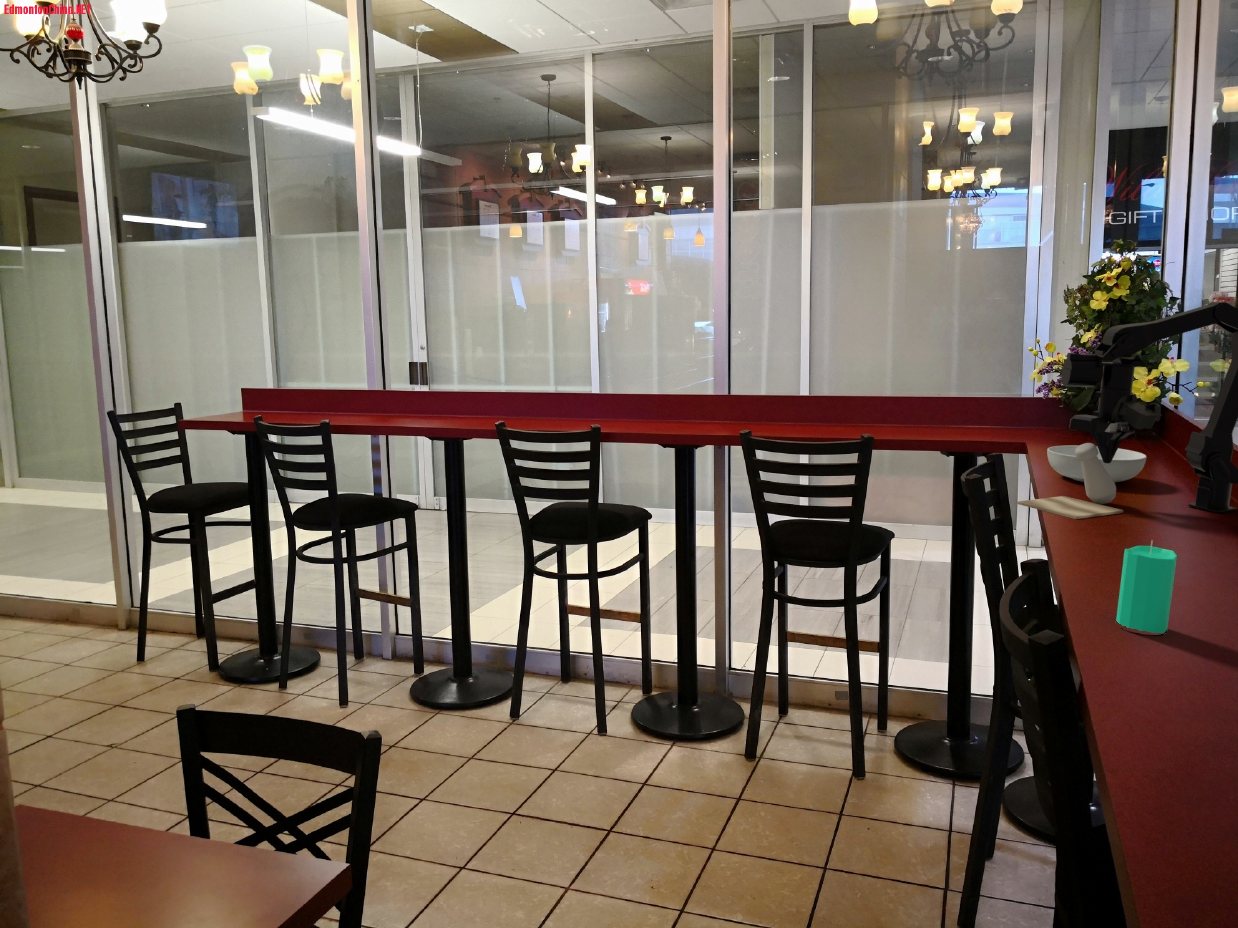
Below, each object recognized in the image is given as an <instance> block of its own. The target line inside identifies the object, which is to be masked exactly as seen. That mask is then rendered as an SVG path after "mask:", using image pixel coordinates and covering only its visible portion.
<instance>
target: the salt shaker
mask: <svg viewBox="0 0 1238 928" xmlns="http://www.w3.org/2000/svg"><path fill="white" fill-rule="evenodd" d="M1077 446H1078V447H1077V448H1076V450H1075V456H1076V458H1077V459H1078V460H1080V461H1081V465H1082V471H1083V477H1084V482H1083V483H1084V487H1085V494H1086V496H1087V498H1089V500H1091V501H1092V503H1095V504H1099V505H1105V504H1108V503H1111V502H1112V501H1114V499H1115V498H1116V494H1117V486H1116V482H1114V481H1113V480H1112V479H1111V477H1110V476H1109V474H1108V473H1107V471H1106V470H1105V468H1104V467H1103V465H1102V464H1101V462H1100V461H1099V459H1098V457H1097V455H1098V449H1097V447H1096V446H1097V444H1095V443H1092V442H1085V443H1082V444H1080V445H1077Z"/></svg>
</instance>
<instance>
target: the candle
mask: <svg viewBox="0 0 1238 928" xmlns="http://www.w3.org/2000/svg"><path fill="white" fill-rule="evenodd" d="M1153 543H1154V542H1153V539H1151V542H1150V545H1136V546H1133V547H1130V548H1125V549H1124V553H1123V559H1122V560H1123V561H1122V570H1121V579H1120V586H1119V594H1118V595H1119V596H1118V603H1117V609H1116V610H1117V611H1116V619H1115V620H1116V621H1117V622H1118V623H1119V624H1121V625H1122V626H1126V627H1127V628H1131V629H1137V630H1139V631H1147V632H1151V633H1164V632H1165V631H1166V630H1167V631H1168V627H1169V619H1170V610H1171V603H1172V597H1173V589H1174V581H1175V574H1176V573H1175V572H1176V565H1177V558H1178V555H1177V554H1176V553H1175V551H1174V550H1170V549H1166V548H1161V547H1157V546H1153ZM1116 621H1115V622H1116Z"/></svg>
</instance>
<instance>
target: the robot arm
mask: <svg viewBox="0 0 1238 928" xmlns="http://www.w3.org/2000/svg"><path fill="white" fill-rule="evenodd" d="M1213 325H1217V326H1218V327H1220V328H1221V329H1223V330H1224V331H1226V332H1227V333H1229V334H1232V337H1231V343H1230V350H1231V361H1230V364H1229V367H1228V369H1227V372H1226V374H1225V377H1224V380H1223V381H1222V385H1221V387H1220V390H1219V393H1218V395H1217V398H1216V401H1215V403H1214V406H1213V408H1212V411H1211V414H1210V416H1209V418H1208V421H1207V424H1206V426H1205V427H1204V428H1203V429H1202V430H1201V431H1200V432H1196V431H1192V432H1191V433H1190V435H1189V436H1190V438H1189V441H1188V444H1187V446H1186V447H1185V448H1184V450H1185V451H1186V460H1187V462H1188V463H1189V465H1190V466H1191V467H1192V470H1193V473H1194V475H1196V476H1199V478H1198V481H1197V487H1196V496H1195V502H1191V503H1188V504H1187V507H1191V508H1196V509H1199V510H1204V511H1209V512H1214V513H1217V514H1218V513H1225V512H1232V511H1237V507H1235V506H1230V501H1231V496H1232V495H1231V494H1232V490H1233V489H1232V488H1233V485H1234V484H1236V485H1238V468H1237V466H1236V465H1235V464H1233V462H1232V458H1233V454H1234V453H1233V452H1234V440H1233V439H1234V437H1233V433H1234V429H1235V427H1236V424H1237V421H1238V308H1237V307H1235V306H1233V305H1231V304H1230V303H1229V302H1224V301H1211V302H1209V303H1207V304H1205V305H1203V306H1199V307H1196V308H1193V309H1189V310H1186V311H1183V312H1178V313H1175V314H1173V315H1169V316H1166V317H1162V318H1159V319H1155V320H1152V321H1147V322H1138V323H1127V324H1120V325H1114V326H1112V327H1109V328H1107V330H1106V331H1105V333H1104V334H1103V337H1102V341H1101V342H1100V343H1099V344H1098V345H1097V346H1096V347H1095V348H1094V349H1093V350H1092V352H1090V354H1084V353H1083V354H1081V353H1075V352H1068V353H1067V356H1066V358H1065V361H1064V363H1063V365H1062V367H1061V371H1060V377H1061V378H1060V379H1061V384H1062V385H1063V386H1064V387H1080V388H1081V387H1082V388H1083V387H1084V388H1095V386H1097V384H1100V390H1099V391H1095V393H1094V397H1096V398H1098V406H1097V407H1098V408H1097V411H1095V410H1094V411H1093V412H1092V415H1090V414H1075V415H1073V416H1072V417H1070V419H1069V429H1071V430H1077V431H1084V432H1087V433H1088V432H1090V433H1091V434H1090V435H1091V436H1092V438H1093V439H1094V442H1095V445H1096V446H1097V447H1098V449H1099V452H1100V455H1101V457H1102V460H1103V462H1104V463H1107V464H1108V463H1111V461H1112V459H1113V457H1114V455H1115V453H1116V451H1117V449H1119V447H1120V446H1121V444H1122V442H1123V441H1124V439H1125V438H1127V437H1128V436H1130V435H1132V434H1134V433H1135V430H1130V429H1129V428H1130V426H1131V427H1133V428H1135V429H1137V430H1143V429H1144V430H1147V429H1149V430H1150V429H1153V428H1154V424H1155V422H1159V421H1161V414H1162V410H1161V409H1162V406H1161V405H1159V404H1158V403H1155V402H1154V403H1153V402H1151V403H1148V404H1147V405H1145V404H1141V403H1138V396H1137V394H1135V393H1132V392H1133V384H1134V377H1135V369H1136V368H1146V367H1147V363H1146V362H1145V361H1144V360H1143V359H1142V358H1141V357H1140V354H1137V353H1138V352H1141V351H1143V350H1145V349H1147V348H1148V347H1151V346H1152V345H1153V344H1155V343H1156V342H1157V343H1158V342H1160V341H1161V340H1164V339H1167V338H1171V337H1175V336H1178V335H1182V334H1185V333H1188V332H1191V331H1195V330H1198V329H1202V328H1206V327H1208V326H1213ZM1122 356H1125V357H1122ZM1126 356H1130V357H1126Z"/></svg>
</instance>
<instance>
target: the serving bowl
mask: <svg viewBox="0 0 1238 928" xmlns="http://www.w3.org/2000/svg"><path fill="white" fill-rule="evenodd" d="M1078 446H1079V445H1055V446H1050V447H1048V448H1047V449H1046V450H1047V451H1046V452H1047V455H1046V456H1047V460H1048V463H1049V465H1050V466H1051V468H1052V469H1053V471H1055V472H1057V473H1058V474H1060V475H1061V476H1064V477H1066V478H1069V479H1072V480H1074V481H1077V482H1080V483H1084V477H1083V471H1082V465H1081V461H1080V460H1078V459H1077V458H1076V456H1075V450H1076V448H1077V447H1078ZM1096 447H1097V445H1096ZM1097 449H1098V447H1097ZM1097 457H1098V459H1099V461H1100V462H1101V464H1102V465H1103V467H1104V468H1105V470H1106V471H1107V473H1108V474H1109V476H1110V477H1111V479H1112V480H1113V481H1114V483H1118V482H1119V483H1120V482H1124V481H1127V480H1130V479H1133V478H1134V477H1136V476H1137V475H1138V474H1140V473H1141V471H1142V470H1143V468H1144V467H1145V464H1146V461H1147V455H1146V454H1144V453H1142V452H1139V451H1134V450H1130V449H1124V448H1118V449H1117V451H1116V453H1115V455H1114V457H1113V459H1112V461H1111V463H1108V464H1107V463H1104V462H1103V460H1102V457H1101V455H1100V452H1099V449H1098V455H1097Z"/></svg>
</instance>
